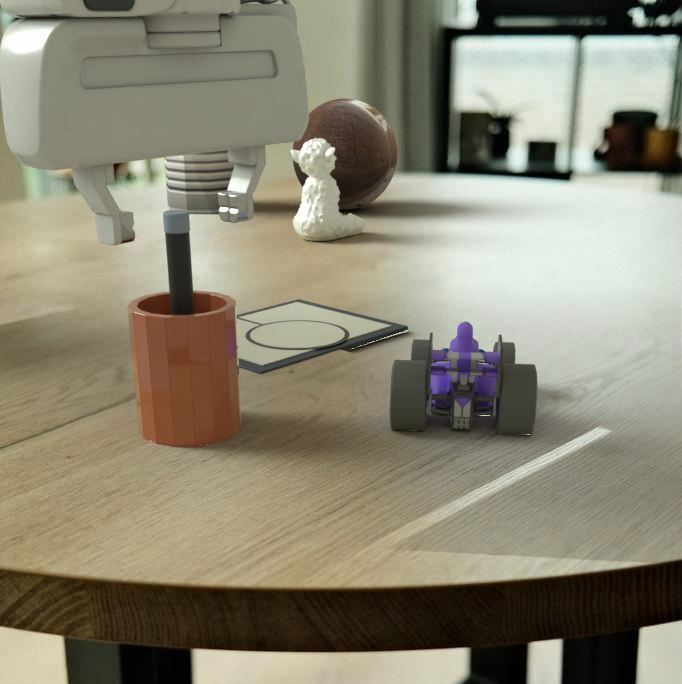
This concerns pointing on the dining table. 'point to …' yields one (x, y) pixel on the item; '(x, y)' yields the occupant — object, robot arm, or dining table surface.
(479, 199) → the dining table surface
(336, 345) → the white flat board
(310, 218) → the white creature statuette
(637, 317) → the dining table surface
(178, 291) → the pen
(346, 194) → the wooden sphere
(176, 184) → the can
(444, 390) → the toy race car
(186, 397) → the cup
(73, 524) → the dining table surface
